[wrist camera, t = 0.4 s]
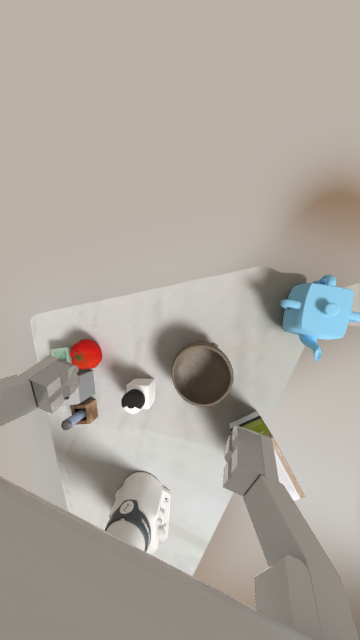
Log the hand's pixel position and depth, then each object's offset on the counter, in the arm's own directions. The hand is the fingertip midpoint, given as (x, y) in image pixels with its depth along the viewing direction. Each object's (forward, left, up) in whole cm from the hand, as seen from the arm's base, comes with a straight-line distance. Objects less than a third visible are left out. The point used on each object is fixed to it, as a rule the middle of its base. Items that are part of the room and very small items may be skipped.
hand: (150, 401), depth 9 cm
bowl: (-11, 0, -53) cm, 54 cm away
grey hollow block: (-12, +43, -53) cm, 69 cm away
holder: (-21, +41, -53) cm, 70 cm away
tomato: (-1, +37, -53) cm, 64 cm away
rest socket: (-2, +46, -53) cm, 70 cm away
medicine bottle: (-16, +20, -53) cm, 59 cm away
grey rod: (-21, +41, -52) cm, 69 cm away
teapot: (+1, -32, -53) cm, 62 cm away
